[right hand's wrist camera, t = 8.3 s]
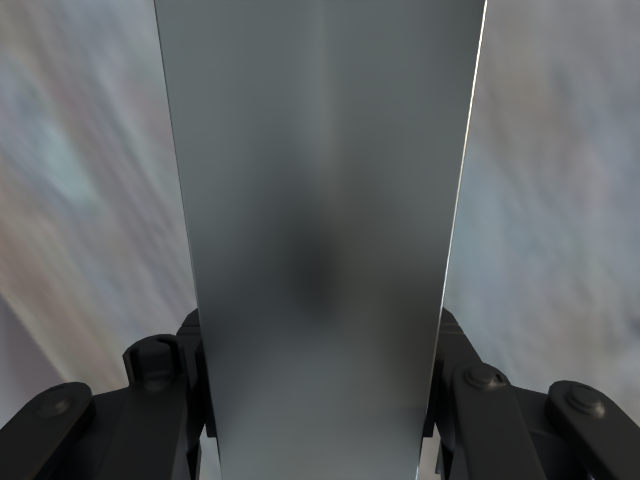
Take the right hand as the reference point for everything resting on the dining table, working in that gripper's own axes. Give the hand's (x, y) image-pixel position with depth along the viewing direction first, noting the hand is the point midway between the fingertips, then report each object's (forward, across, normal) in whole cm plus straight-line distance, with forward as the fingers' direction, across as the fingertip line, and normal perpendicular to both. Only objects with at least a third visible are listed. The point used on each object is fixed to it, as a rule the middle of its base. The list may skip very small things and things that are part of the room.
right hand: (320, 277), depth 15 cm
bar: (+1, 0, -8) cm, 9 cm away
